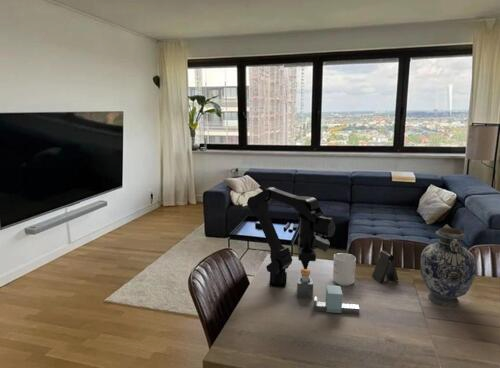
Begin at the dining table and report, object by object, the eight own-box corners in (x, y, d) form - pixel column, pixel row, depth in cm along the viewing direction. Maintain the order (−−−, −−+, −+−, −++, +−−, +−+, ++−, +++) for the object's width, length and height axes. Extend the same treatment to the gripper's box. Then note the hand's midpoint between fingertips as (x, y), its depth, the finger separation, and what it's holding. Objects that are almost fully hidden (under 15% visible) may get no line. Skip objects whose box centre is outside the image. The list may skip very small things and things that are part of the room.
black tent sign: (379, 283, 150) (382, 256, 148) (371, 276, 156) (373, 251, 153) (398, 280, 152) (400, 254, 150) (389, 274, 158) (392, 249, 155)
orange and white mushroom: (300, 289, 138) (300, 272, 137) (300, 284, 141) (300, 268, 140) (309, 289, 137) (310, 273, 136) (309, 285, 141) (310, 268, 140)
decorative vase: (478, 318, 124) (488, 242, 119) (420, 309, 130) (427, 236, 125) (464, 290, 144) (472, 224, 139) (414, 284, 150) (420, 220, 145)
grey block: (326, 312, 126) (328, 293, 125) (325, 303, 132) (326, 285, 131) (341, 313, 126) (342, 294, 124) (339, 304, 132) (340, 286, 130)
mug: (358, 284, 148) (360, 259, 146) (340, 288, 145) (341, 262, 143) (342, 272, 159) (343, 249, 157) (324, 275, 156) (326, 251, 154)
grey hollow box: (296, 297, 137) (297, 283, 136) (296, 290, 143) (297, 276, 142) (312, 298, 137) (313, 284, 136) (311, 291, 143) (312, 277, 141)
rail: (313, 310, 128) (314, 300, 128) (313, 306, 131) (313, 296, 131) (359, 314, 127) (359, 303, 126) (357, 309, 130) (358, 299, 129)
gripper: (331, 240, 125) (328, 281, 128) (326, 224, 143) (324, 260, 146) (299, 238, 126) (297, 279, 129) (298, 222, 144) (297, 258, 147)
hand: (305, 268), depth 138 cm, fingers closed
